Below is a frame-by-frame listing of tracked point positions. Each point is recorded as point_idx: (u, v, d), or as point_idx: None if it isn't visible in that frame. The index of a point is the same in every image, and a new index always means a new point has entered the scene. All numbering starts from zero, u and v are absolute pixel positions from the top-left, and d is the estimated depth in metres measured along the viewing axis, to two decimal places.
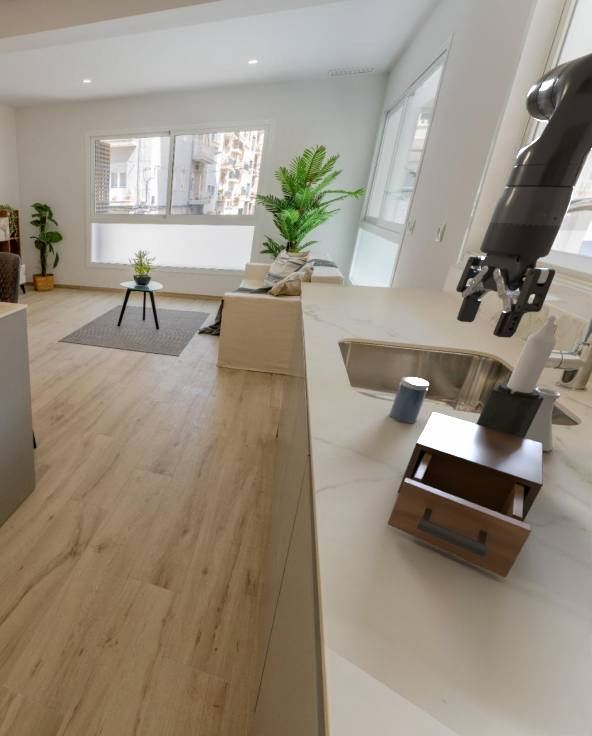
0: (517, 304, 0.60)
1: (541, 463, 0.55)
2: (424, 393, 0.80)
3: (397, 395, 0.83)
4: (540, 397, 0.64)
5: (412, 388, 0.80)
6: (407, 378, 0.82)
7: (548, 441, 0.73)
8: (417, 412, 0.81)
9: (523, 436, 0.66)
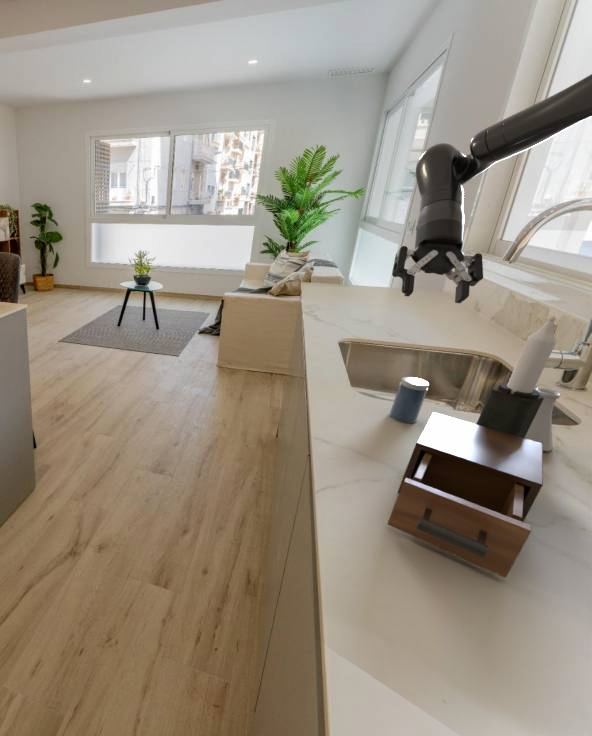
0: None
1: (541, 463, 0.55)
2: (424, 393, 0.80)
3: (397, 395, 0.83)
4: (540, 397, 0.64)
5: (412, 388, 0.80)
6: (407, 378, 0.82)
7: (548, 441, 0.73)
8: (417, 412, 0.81)
9: (523, 436, 0.66)
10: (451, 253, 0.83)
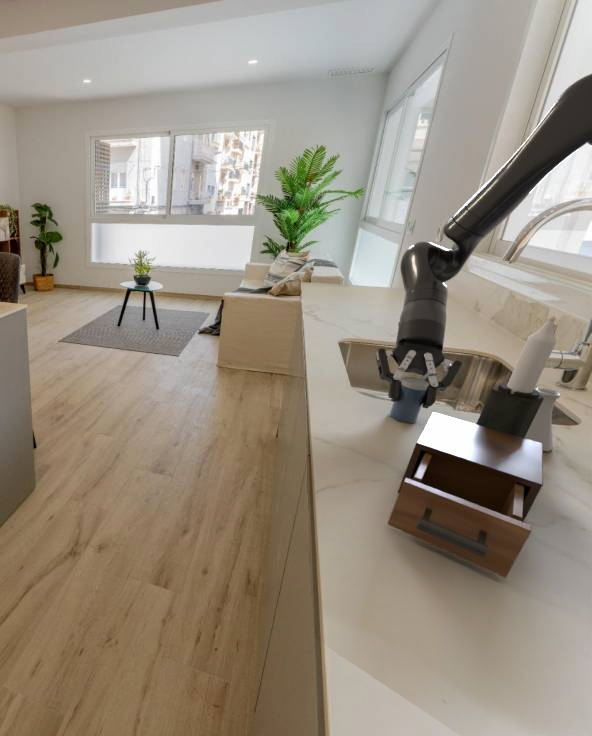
0: None
1: (541, 463, 0.55)
2: (424, 393, 0.80)
3: None
4: (540, 397, 0.64)
5: (412, 388, 0.80)
6: (407, 378, 0.82)
7: (548, 441, 0.73)
8: (417, 412, 0.81)
9: (523, 436, 0.66)
10: (430, 355, 0.82)
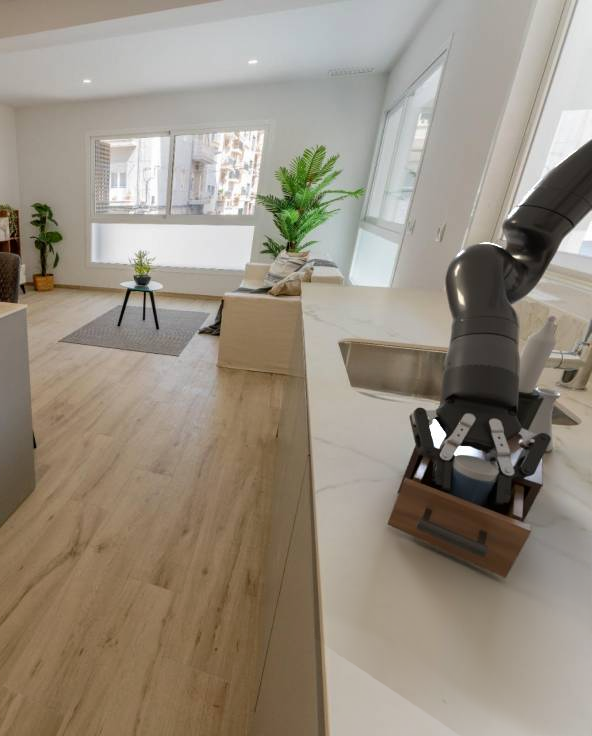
0: None
1: (541, 463, 0.55)
2: (492, 485, 0.51)
3: None
4: (540, 397, 0.64)
5: (472, 477, 0.51)
6: (462, 458, 0.53)
7: None
8: None
9: None
10: (498, 423, 0.52)
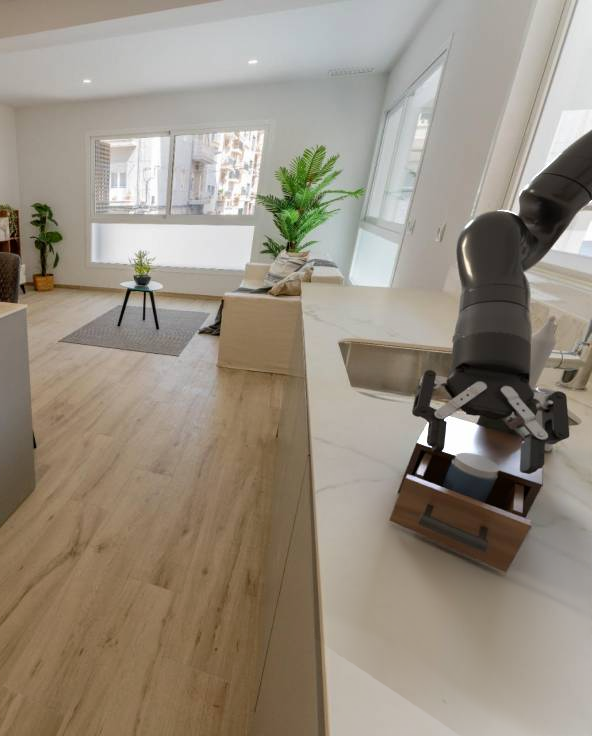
0: None
1: None
2: (492, 482, 0.51)
3: (447, 481, 0.54)
4: None
5: (473, 475, 0.51)
6: (463, 456, 0.54)
7: None
8: None
9: None
10: (510, 389, 0.52)
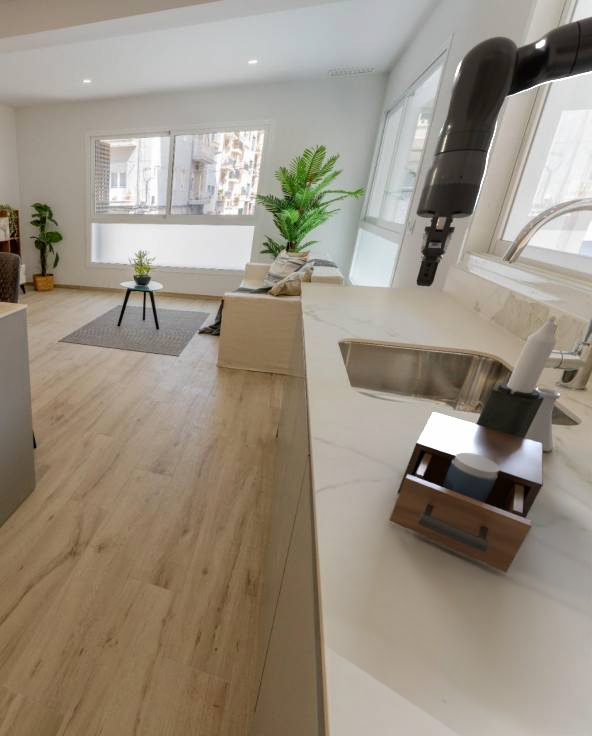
0: (423, 249, 0.68)
1: (541, 463, 0.55)
2: (492, 482, 0.51)
3: (447, 481, 0.54)
4: (540, 397, 0.64)
5: (473, 475, 0.51)
6: (463, 456, 0.54)
7: (548, 441, 0.73)
8: None
9: (523, 436, 0.66)
10: None
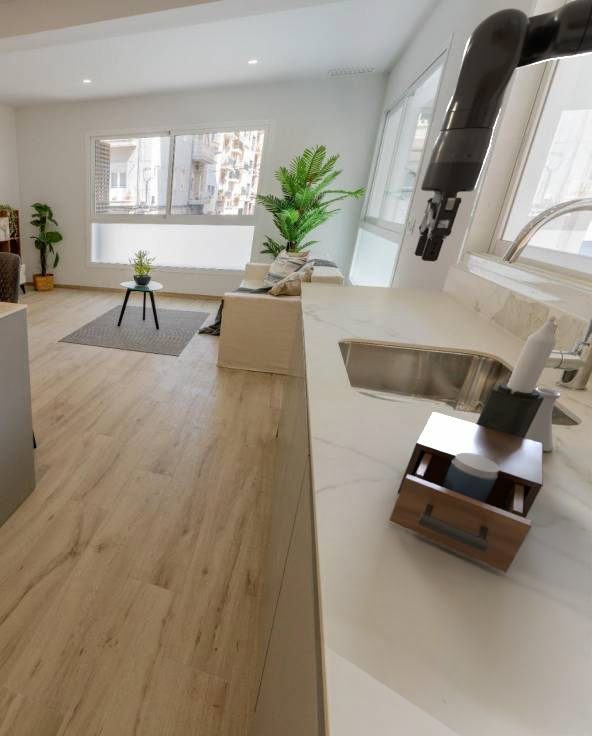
0: (431, 229, 0.72)
1: (541, 463, 0.55)
2: (492, 482, 0.51)
3: (447, 481, 0.54)
4: (540, 397, 0.64)
5: (473, 475, 0.51)
6: (463, 456, 0.54)
7: (548, 441, 0.73)
8: None
9: (523, 436, 0.66)
10: None
